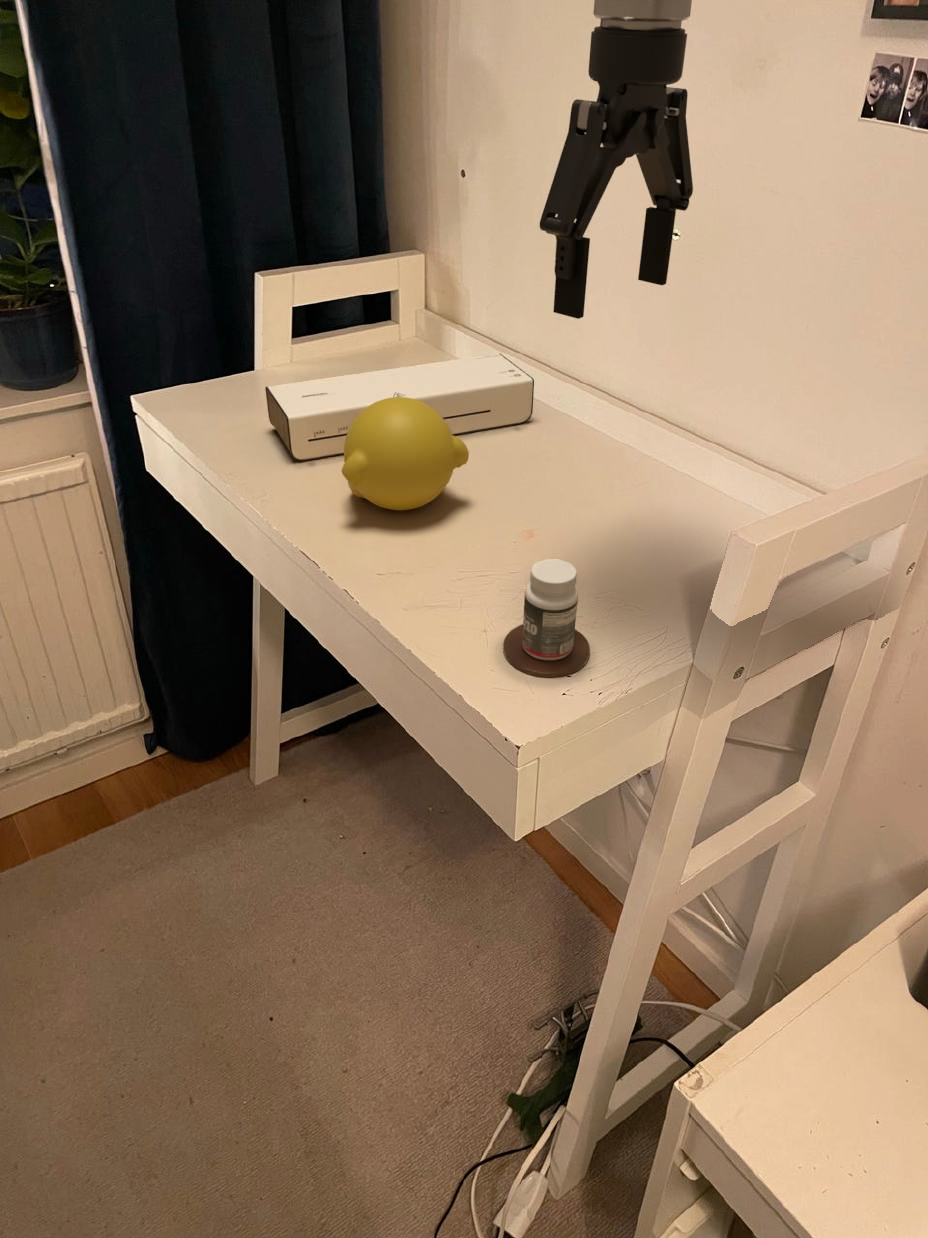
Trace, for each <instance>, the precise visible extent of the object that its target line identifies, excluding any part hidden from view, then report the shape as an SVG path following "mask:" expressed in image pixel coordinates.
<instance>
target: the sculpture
mask: <svg viewBox="0 0 928 1238" xmlns="http://www.w3.org/2000/svg"><path fill="white" fill-rule="evenodd" d="M469 455H470V452H469V449H468V447H467V445H466V443H465V442H464V441H463V440H462V439H461V438H460V437H458V436H457V435H454V436H453V435H452V433H451V431H450V429H449V427H448V425H447V423H446V422H445V420H444V419H443V418H442V417H441V416H440V415H439V414H438V413H437V412H436V411H435V410H434V409H433V408H431V407H430V406H428V405H427V404H425V403H423V402H421V401H418V400H415V399H412V398H405V397H393V398H387V399H383V400H380V401H377V402H375V403H373V404H372V405H370V406H368V407H367V408H366V409H364V410H363V411H362V412H361V413H360V414H359V415H358V416H357V417H356V419H355V420H354V421H353V423H352V425H351V427H350V428H349V431H348V433H347V436H346V440H345V445H344V454H343V461H344V463H343V465H342V468H341V474H342V476H343V477H344V478H345V480H347V484H348V487H349V489H350V491H351V493H353V494H354V495H355V496H356V497H359V498H361V499H362V498H363V499H366V500H367V501H368V502H370V503H372V504H374V505H375V506H378V507H380V508H383V509H386V510H393V511H409V510H414V509H418V508H421V507H423V506H425V505H427V504H429V503H431V502H432V501H433V500H434V499H436V498H437V497H438V496H439V495H440V494H441V493H442V492H443V491H444V490H445V488H446V487H447V486H448V484H449V482H450V481H451V478H452V476H453V474H454V470H456V469H457V468H458V469H459V468H461V467H462V466H464V465H466V464H467V463H468V461H469Z"/></svg>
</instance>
